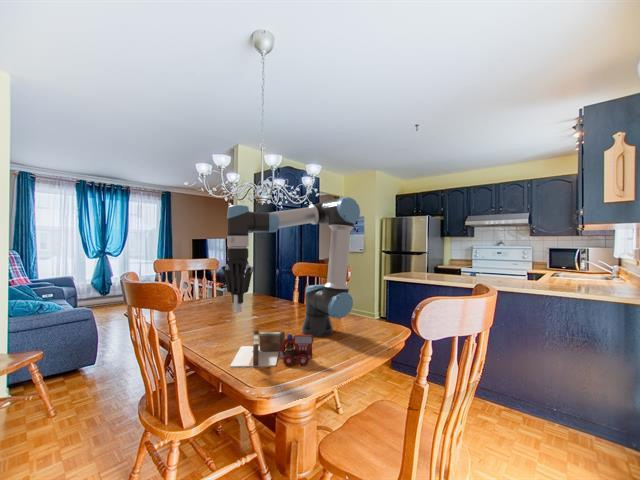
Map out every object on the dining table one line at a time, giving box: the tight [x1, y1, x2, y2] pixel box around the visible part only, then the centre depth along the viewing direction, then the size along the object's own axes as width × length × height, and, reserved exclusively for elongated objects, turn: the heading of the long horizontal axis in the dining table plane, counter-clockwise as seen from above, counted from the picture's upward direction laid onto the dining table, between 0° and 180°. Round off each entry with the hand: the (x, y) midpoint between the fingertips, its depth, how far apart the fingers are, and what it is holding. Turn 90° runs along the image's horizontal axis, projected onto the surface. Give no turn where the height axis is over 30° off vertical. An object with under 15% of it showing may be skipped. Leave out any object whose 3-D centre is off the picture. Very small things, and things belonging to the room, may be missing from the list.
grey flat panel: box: [252, 334, 260, 366], centre depth 106 cm, size 13×2×7 cm, turn 12°
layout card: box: [229, 345, 279, 368], centre depth 111 cm, size 16×19×1 cm
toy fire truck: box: [278, 333, 314, 367], centre depth 105 cm, size 7×12×10 cm, turn 87°
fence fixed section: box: [252, 328, 286, 351], centre depth 115 cm, size 12×2×9 cm, turn 94°
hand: (237, 312), depth 105 cm, fingers closed
